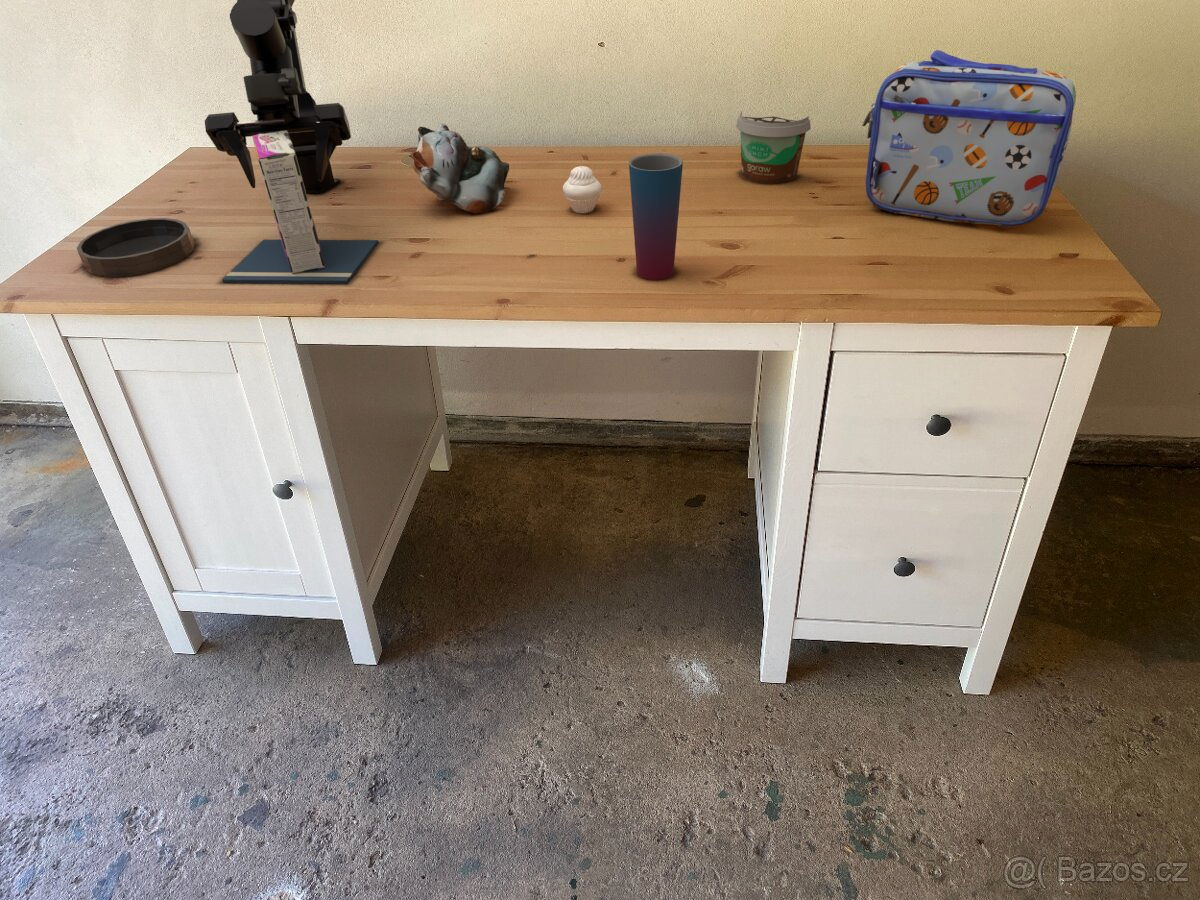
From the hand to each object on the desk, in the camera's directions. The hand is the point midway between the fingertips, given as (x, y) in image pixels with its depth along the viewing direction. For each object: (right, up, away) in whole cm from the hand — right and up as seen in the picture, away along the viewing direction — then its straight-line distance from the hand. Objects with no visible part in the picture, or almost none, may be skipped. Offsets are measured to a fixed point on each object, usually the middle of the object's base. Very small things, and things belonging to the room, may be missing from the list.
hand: (286, 183), depth 117 cm
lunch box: (+96, -2, +10) cm, 97 cm away
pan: (-25, -8, +8) cm, 28 cm away
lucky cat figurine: (+22, +3, +21) cm, 30 cm away
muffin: (+41, +1, +16) cm, 44 cm away
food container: (+72, +8, +24) cm, 77 cm away
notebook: (+1, -10, +4) cm, 11 cm away
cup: (+52, -13, -3) cm, 53 cm away
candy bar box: (+1, -10, +4) cm, 11 cm away
